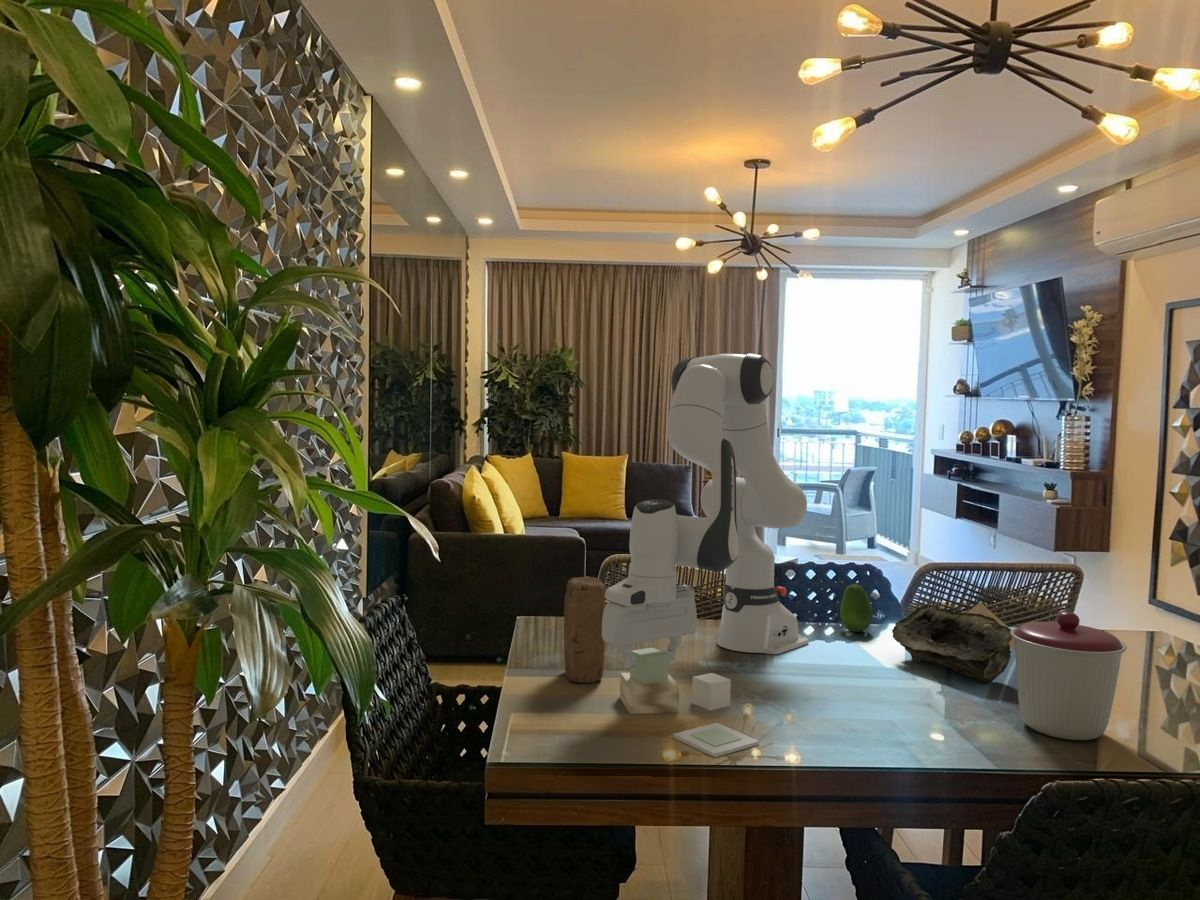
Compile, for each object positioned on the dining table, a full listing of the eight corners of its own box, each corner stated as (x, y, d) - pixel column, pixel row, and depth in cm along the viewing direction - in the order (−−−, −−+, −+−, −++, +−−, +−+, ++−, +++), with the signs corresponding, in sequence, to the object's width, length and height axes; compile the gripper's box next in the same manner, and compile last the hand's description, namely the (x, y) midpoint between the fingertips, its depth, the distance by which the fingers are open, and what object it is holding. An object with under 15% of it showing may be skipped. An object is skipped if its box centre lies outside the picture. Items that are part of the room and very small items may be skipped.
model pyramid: (928, 641, 218) (930, 600, 218) (961, 630, 230) (963, 592, 229) (996, 656, 206) (998, 613, 205) (1027, 644, 218) (1029, 603, 217)
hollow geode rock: (1007, 714, 179) (1049, 657, 182) (975, 675, 175) (1019, 617, 178) (909, 670, 205) (947, 620, 208) (879, 635, 201) (919, 585, 204)
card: (716, 726, 155) (716, 721, 154) (759, 744, 146) (759, 739, 146) (672, 737, 149) (673, 732, 149) (714, 757, 141) (714, 752, 141)
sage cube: (651, 673, 168) (652, 647, 168) (667, 680, 164) (668, 654, 164) (629, 677, 165) (630, 650, 165) (646, 684, 161) (647, 657, 161)
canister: (986, 712, 166) (992, 600, 164) (1080, 712, 167) (1086, 601, 166) (1041, 750, 148) (1048, 624, 146) (1145, 750, 149) (1153, 625, 148)
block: (605, 684, 176) (608, 584, 175) (567, 685, 174) (570, 584, 173) (595, 668, 186) (598, 573, 185) (560, 669, 185) (562, 574, 184)
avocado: (833, 628, 227) (835, 581, 226) (862, 627, 228) (864, 581, 228) (847, 636, 219) (849, 588, 218) (877, 635, 220) (879, 587, 220)
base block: (665, 697, 170) (666, 671, 170) (678, 713, 161) (679, 686, 161) (619, 698, 168) (620, 672, 168) (629, 715, 160) (630, 687, 159)
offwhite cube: (711, 698, 169) (712, 672, 169) (729, 706, 165) (730, 679, 165) (691, 703, 166) (692, 676, 166) (709, 711, 162) (710, 684, 162)
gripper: (683, 580, 172) (681, 651, 173) (597, 591, 160) (595, 667, 161) (705, 586, 167) (703, 659, 168) (619, 598, 155) (616, 676, 156)
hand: (649, 663), depth 165 cm, fingers open, 8 cm apart
